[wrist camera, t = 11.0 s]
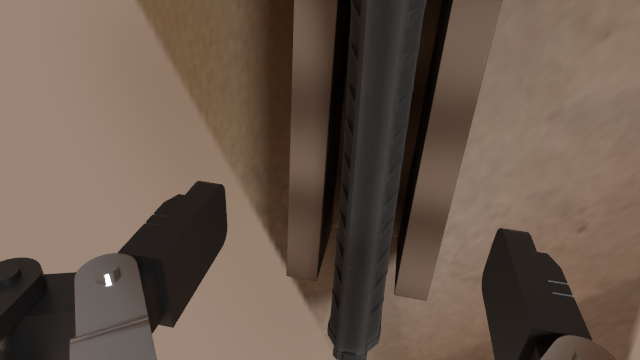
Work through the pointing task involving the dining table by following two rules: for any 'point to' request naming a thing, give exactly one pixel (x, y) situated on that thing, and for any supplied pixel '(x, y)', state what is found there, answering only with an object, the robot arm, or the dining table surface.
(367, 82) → the magazine
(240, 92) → the dining table surface
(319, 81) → the slot block
